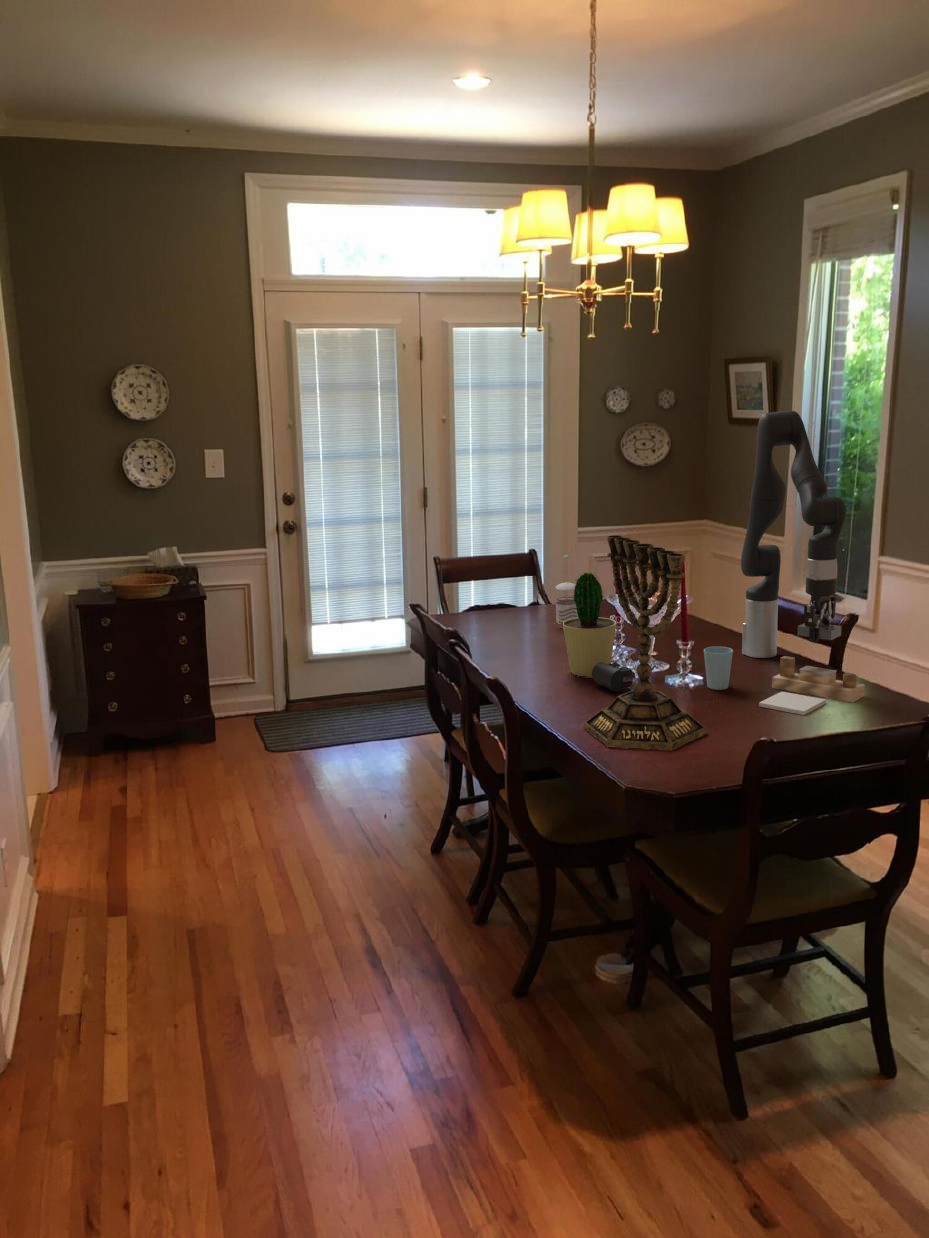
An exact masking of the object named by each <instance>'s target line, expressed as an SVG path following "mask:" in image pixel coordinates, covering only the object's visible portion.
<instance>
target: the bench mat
mask: <svg viewBox="0 0 929 1238" xmlns="http://www.w3.org/2000/svg"><path fill="white" fill-rule="evenodd" d="M826 700H827V698H826V699H825V698H821V697H820V698H819V697H816V696H814V697H813V696H810V695H804V694H803V695H802V694H799V693H794V692H792V693H791V692H788V691H787V692H786V691H780V692H778V693H776V694H773V695H772V696H770V697H768V698H766V699H764V700H762V701H760V702H759V703H758V707H760V708H761V707H762V708H766V709H771V710H775V711H780V712H785V713H792V714H796V715H801V716H806V714H809V713H811V712H813V711H814V710H817V709H818V708H820V707H822V706H823V705H825V704H826V703H827V701H826Z"/></svg>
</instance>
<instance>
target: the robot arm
mask: <svg viewBox="0 0 929 1238" xmlns="http://www.w3.org/2000/svg"><path fill="white" fill-rule="evenodd" d="M756 431H757V433H756V451H755V452H756V454H755V466H754V468H755V469H754V474H753V475H754V476H753V481H752V487H751V494H750V502H749V512H748V521H747V528H746V532H745V538H744V542H743V547H742V549H741V550H742V551H741V556H740V557H741V558H740V570H741V572H742V574H743V575H744V576H745V577H751V578H753V577H755V578H756V577H764V579H763V580H762V581H760V582H758V583H757V584H755V585H752V586H750V587H748V588H747V589H746V591H745V620H744V622H743V623H742V625H741V626H742V630H741V631H742V632H741V633H742V634H741V635H742V636H741V637H742V639H741V640H742V642H741V643H742V644H741V654H742V655H745V656H748V657H751V658H755V659H756V658H759V659H766V658H774V657H776V656H777V655H778V654H777V649H778V617H779V616H778V615H779V614H778V613H779V612H778V611H779V609H778V608H779V591H780V572H781V564H782V563H781V561H782V560H781V559H782V558H781V556H782V555H781V551H780V548H779V546H777V545H776V544H760V541H761V539H762V538H763V536H764V535H765V533H766V532H767V531H768V529H770V527H771V526H772V525H773V524H774V523H775V522H776V521H777V519H778V518H779V516H780V515H781V514H782V512H783V510H784V504H785V500H786V498H785V497H786V489H787V488H786V485H785V482H784V479H783V478H782V476H781V475H780V473H779V471H778V470H777V467H776V465H775V464H774V460H773V451H774V450H773V449H774V448H775V447H783V446H790V445H791V446H792V447H793V448H794V450H795V455H794V457H793V461H792V464H791V468H790V478H791V481H792V483H793V485H794V487H795V489H796V492H797V493H798V495H799V501H800V507H801V508H800V509H801V516H802V517H801V518H802V520H803V521H804V523H805V524H807V525H808V526H811V527H821V526H825V527H824V528H823V530H822V531H821V532H819V533H817V534H813V535H811V536H810V537H809V538H808V544H807V548H808V549H807V562H806V569H805V593H806V594H807V595H809V596H810V600H809V603H804V605H803V613H804V614H803V615H804V617H803V618H804V619H803V620H804V623H805V626H808V627H809V637H808V641H809V642H811V643H817V642H819V638H818V630H819V628H818V627H819V623H820V622H821V623H823V624H830V625H831V622H832V619H833V620H834V619H835V618H836V617H835V616H836V615H835V614H836V605H837V596H836V594H837V585H838V582H837V581H838V542H839V538H840V536H841V533H842V529H843V525H844V523H845V522H846V521H845V520H846V516H847V507H846V504H845V502H844V500H843V499H842V498H841V497H838V496H833V497H830V496H829V497H824V496H825V495H826V494H827V491H828V486H827V483H826V481H825V480H824V479H825V478H824V477H823V475H822V472H821V471H820V470H819V467H818V465H817V464H816V463H817V462H816V460H815V457H814V455H813V451H812V447H811V445H810V440H809V438H808V434H807V431H806V427H805V424H804V421H803V419H802V417H801V415H800V414H799V412H797V411H795V410H785V411H784V410H782V411H772V412H765V413H763V414H762V415H761V416H760V418H759V420H758V424H757V430H756Z"/></svg>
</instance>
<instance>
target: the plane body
mask: <svg viewBox="0 0 929 1238" xmlns="http://www.w3.org/2000/svg"><path fill="white" fill-rule="evenodd" d="M779 659H780V661H779V673H778V674H776V675H774V676H772V677H771V682H772V683H771V687H772V688H771V689H777V690H782V691H785V692H786V691H787V692H792V693H796V694H803V695H804V694H805V695H807V696H810V695H811V696H814V697H820V698H824V699H825V698H826V699H831V700H837V701H842V702H848V703H854V702H857V700H859V699H861V698H864V696H865V686H866V685H865V684H864V683H863V684H862V683H857V674H855V673H846V672H845V673H843V674H842V680H839V679H837V678H836V677H837V669H829V668H822V667H816V666H811V665H805V666H803V667H801V668H799V673H795V671H796V657H793V656H788V655H784V656H782V657H780V658H779Z"/></svg>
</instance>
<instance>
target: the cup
mask: <svg viewBox="0 0 929 1238" xmlns="http://www.w3.org/2000/svg"><path fill="white" fill-rule="evenodd" d="M733 654H734V650H733V649H732V648H731V647H727V646H708V647H705V648H704V649H703V656H704V657H703V658H704V666H705V667H704V669H705V674H706V676H705V677H706V686H707V688H709V689H711V690H716V691H718V690H719V691H720V690H726V689H728V688H729V684H730V683H729V682H730V678H731V677H730V675H731V669H732V668H731V667H732V660H733Z"/></svg>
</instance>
